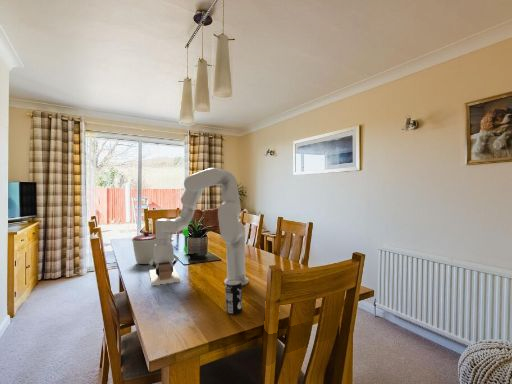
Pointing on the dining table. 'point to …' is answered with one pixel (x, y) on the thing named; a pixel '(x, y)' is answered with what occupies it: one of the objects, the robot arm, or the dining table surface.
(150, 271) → the board
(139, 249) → the canister
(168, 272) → the block
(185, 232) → the plastic bottle
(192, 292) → the dining table surface
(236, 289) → the beverage can
